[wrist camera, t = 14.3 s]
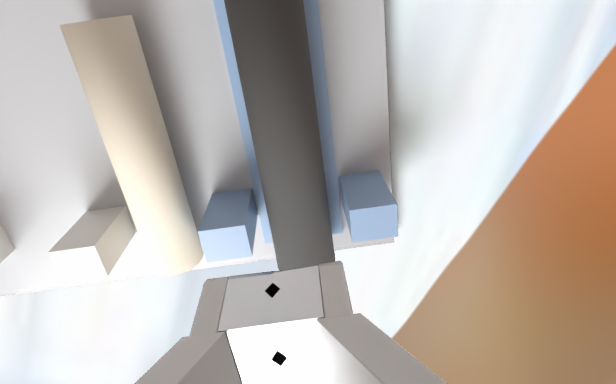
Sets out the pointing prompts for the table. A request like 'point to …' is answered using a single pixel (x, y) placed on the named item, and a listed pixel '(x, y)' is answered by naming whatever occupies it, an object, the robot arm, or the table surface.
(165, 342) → the table surface
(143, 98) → the rod
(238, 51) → the dark gray rod
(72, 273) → the rod display rack
